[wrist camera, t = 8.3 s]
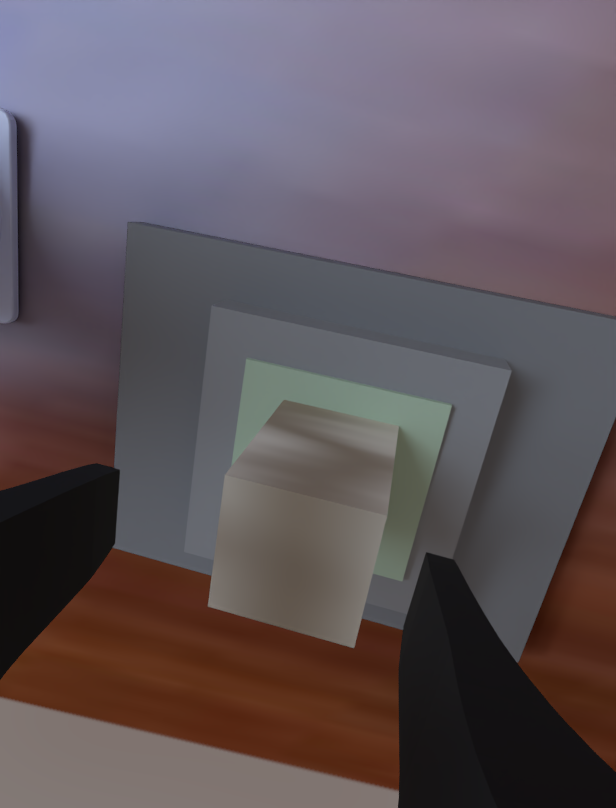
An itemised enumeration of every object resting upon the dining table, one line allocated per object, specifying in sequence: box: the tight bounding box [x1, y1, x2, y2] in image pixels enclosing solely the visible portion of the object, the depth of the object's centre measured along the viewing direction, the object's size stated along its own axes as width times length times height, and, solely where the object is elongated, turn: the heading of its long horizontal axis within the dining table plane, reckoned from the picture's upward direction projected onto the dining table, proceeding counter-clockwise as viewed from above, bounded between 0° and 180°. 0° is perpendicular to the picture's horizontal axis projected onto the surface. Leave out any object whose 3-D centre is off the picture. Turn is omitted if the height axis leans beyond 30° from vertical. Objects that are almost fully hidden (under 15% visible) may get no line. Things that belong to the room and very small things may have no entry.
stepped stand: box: [112, 222, 616, 663], centre depth 21 cm, size 18×14×3 cm
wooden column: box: [208, 400, 399, 648], centre depth 17 cm, size 4×4×6 cm
